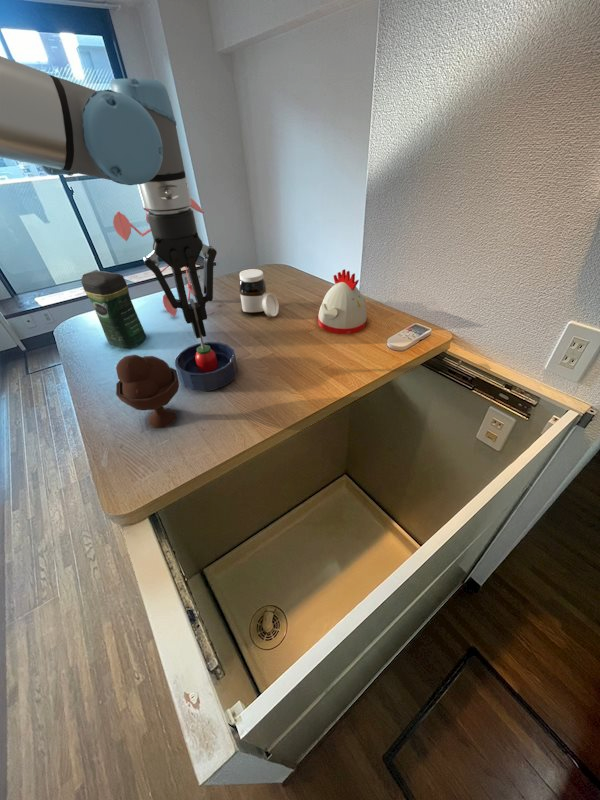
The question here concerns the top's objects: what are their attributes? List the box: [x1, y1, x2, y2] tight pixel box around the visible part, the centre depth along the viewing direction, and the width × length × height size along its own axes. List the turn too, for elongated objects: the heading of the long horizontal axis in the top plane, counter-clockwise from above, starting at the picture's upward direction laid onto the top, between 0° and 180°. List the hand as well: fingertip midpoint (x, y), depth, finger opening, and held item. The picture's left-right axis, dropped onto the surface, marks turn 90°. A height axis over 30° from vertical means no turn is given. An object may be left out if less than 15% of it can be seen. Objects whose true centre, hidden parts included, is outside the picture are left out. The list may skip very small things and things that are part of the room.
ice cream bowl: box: [115, 354, 180, 429], centre depth 61 cm, size 11×11×15 cm
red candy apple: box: [189, 298, 218, 372], centre depth 70 cm, size 5×5×16 cm
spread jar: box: [238, 268, 280, 318], centre depth 97 cm, size 12×11×12 cm
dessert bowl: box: [174, 341, 239, 392], centre depth 75 cm, size 13×13×5 cm
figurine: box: [112, 197, 218, 318], centre depth 91 cm, size 15×26×35 cm, turn 147°
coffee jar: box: [80, 269, 147, 349], centre depth 83 cm, size 10×8×19 cm
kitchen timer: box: [317, 268, 368, 335], centre depth 90 cm, size 14×14×15 cm
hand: (200, 334), depth 70 cm, fingers closed on red candy apple
